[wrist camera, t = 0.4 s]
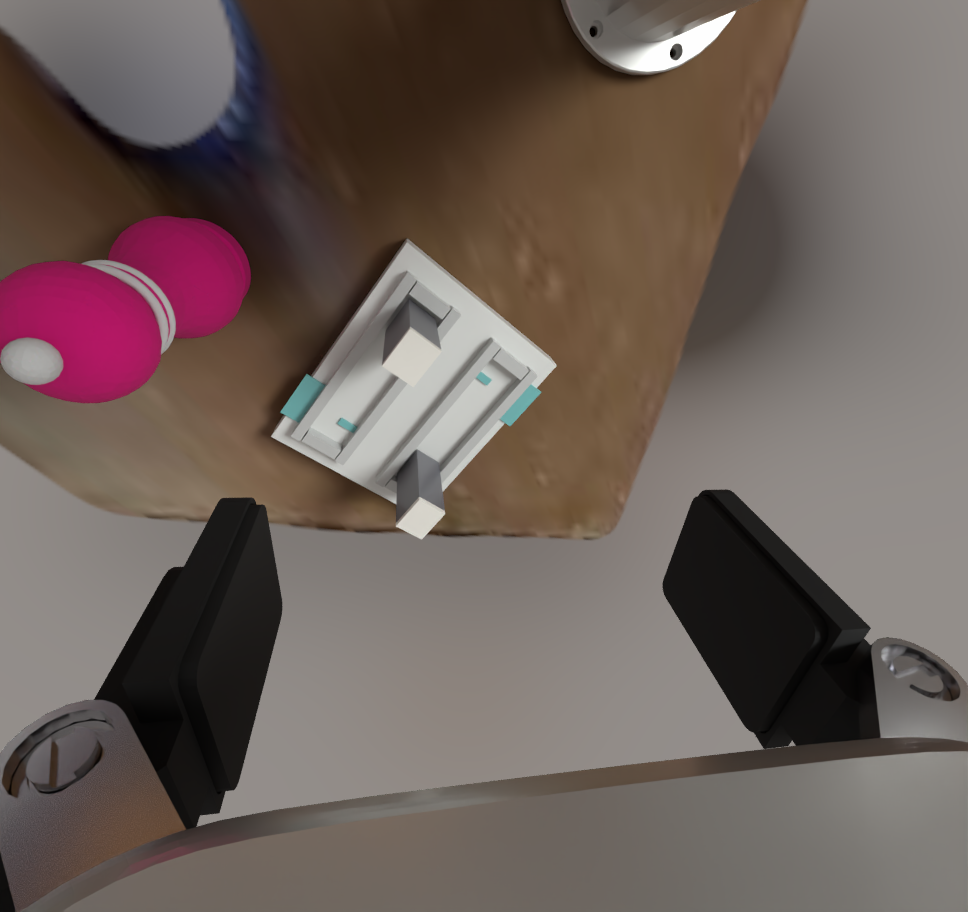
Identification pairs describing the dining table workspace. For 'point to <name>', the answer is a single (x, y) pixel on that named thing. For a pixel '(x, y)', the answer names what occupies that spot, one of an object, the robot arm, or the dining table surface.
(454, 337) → the switch board
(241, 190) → the dining table surface
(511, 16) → the dining table surface
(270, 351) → the dining table surface
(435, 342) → the tab
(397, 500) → the tab
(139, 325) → the pepper mill
